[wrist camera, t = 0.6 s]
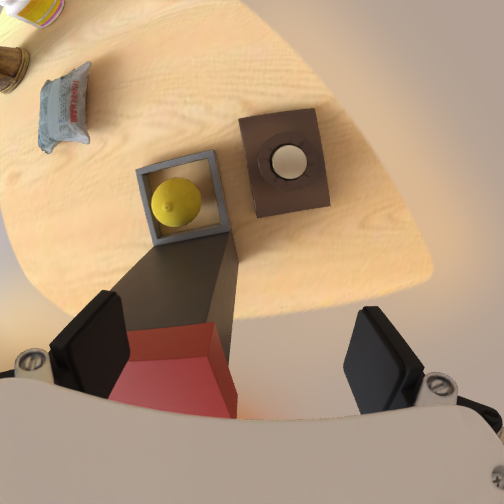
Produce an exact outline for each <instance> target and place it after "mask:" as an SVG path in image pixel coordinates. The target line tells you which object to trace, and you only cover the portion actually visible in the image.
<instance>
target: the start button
mask: <svg viewBox="0 0 504 504" xmlns="http://www.w3.org/2000/svg"><path fill="white" fill-rule="evenodd" d="M306 166H307V159H306V156H305V154H304V152H303V151H302V150H301V149H300V148H298V147H296V146H292V145H287V146H283V147H281V148H279V149H278V150H276V152H275V153H274V155H273V157H272V167H273V169H274V171H275V172H276V173H277V174H278V175H280V176H281V177H284V178H287V179H294V178H297V177H299V176H300V175H302V174H303V172H304V171H305V169H306Z"/></svg>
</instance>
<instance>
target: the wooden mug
mask: <svg viewBox="0 0 504 504" xmlns="http://www.w3.org/2000/svg"><path fill="white" fill-rule="evenodd" d="M28 63H29V53H28V51H27V50H25V49H22V48H18V47H16V48H10V47H1V46H0V92H1V93H4V94H7V93H10V92H11V91H12V90H14V88H15V87H16V86H17V85H18V84H19V82H20V81H21V80H22V78H23V76H24V74H25V72H26V70H27V67H28Z"/></svg>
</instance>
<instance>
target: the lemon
mask: <svg viewBox="0 0 504 504" xmlns="http://www.w3.org/2000/svg"><path fill="white" fill-rule="evenodd" d="M151 206H152V211H153V213H154V216H155V217H156V218H157V220H158V221H160V222H161V223H162V224H164V225H166V226H170V227H180V226H183V225H186V224H188V223H189V222H191V221H192V220H193V219H194V218H195V217H196V216H197V214H198V212H199V211H200V207H201V195H200V191H199V190H198V188H197V186H196V185H195V184H194V183H193V182H191V181H189V180H188V179H184V178H171V179H168V180H166V181H164V182H163V183H161V184H160V185H159V186H158V187H157V189H156V190H155V192H154V194H153V197H152V203H151Z"/></svg>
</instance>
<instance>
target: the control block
mask: <svg viewBox="0 0 504 504" xmlns="http://www.w3.org/2000/svg"><path fill="white" fill-rule="evenodd" d="M238 121H239V126H240V131H241V136H242V141H243V146H244V151H245V157H246V162H247V167H248V172H249V178H250V183H251V188H252V193H253V199H254V204H255V209H256V215H257V218H262V217H267V216H273V215H279V214H285V213H290V212H296V211H302V210H308V209H315V208H321V207H327V206H330V198H329V190H328V183H327V176H326V170H325V163H324V157H323V151H322V145H321V139H320V134H319V129H318V123H317V118H316V113H315V109H314V108H311V109H301V110H292V111H284V112H277V113H270V114H264V115H257V116H251V117H246V118H240V119H238ZM287 145H292V146H296V147H298V148H300V149H301V150H302V151H303V152H304V154H305V156H306V159H307V166H306V169H305V171H304V172H303V174H302V175H300V176H299V177H297V178H294V179H287V178H284V177H281V176H280V175H278V174H277V173H276V172H275V171H274V169H273V167H272V157H273V155H274V153H275V152H276V150H278V149H279V148H281V147H283V146H287Z"/></svg>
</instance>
